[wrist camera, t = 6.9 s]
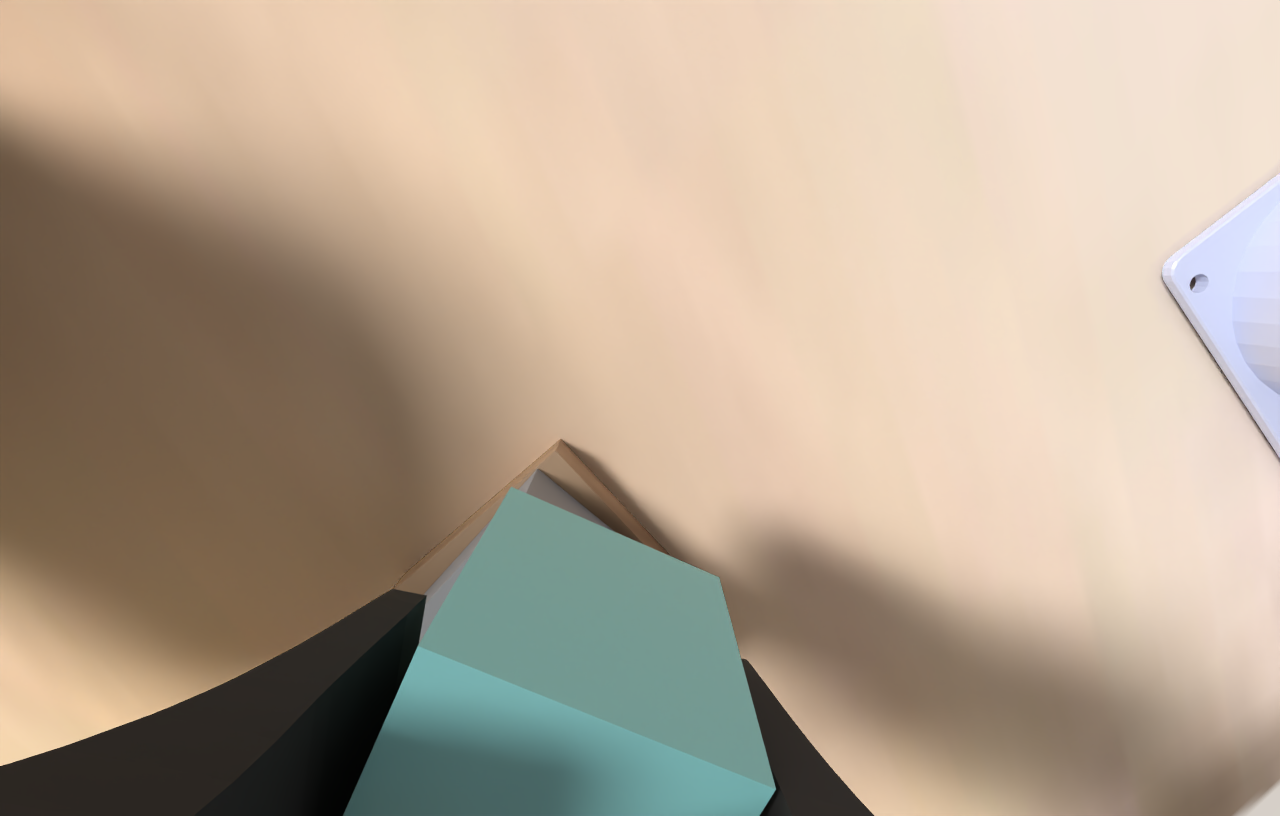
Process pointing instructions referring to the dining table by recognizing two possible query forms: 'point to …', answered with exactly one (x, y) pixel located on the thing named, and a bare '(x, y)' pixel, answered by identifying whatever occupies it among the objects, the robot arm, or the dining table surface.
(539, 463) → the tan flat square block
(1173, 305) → the dining table surface
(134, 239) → the dining table surface
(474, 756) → the teal block
